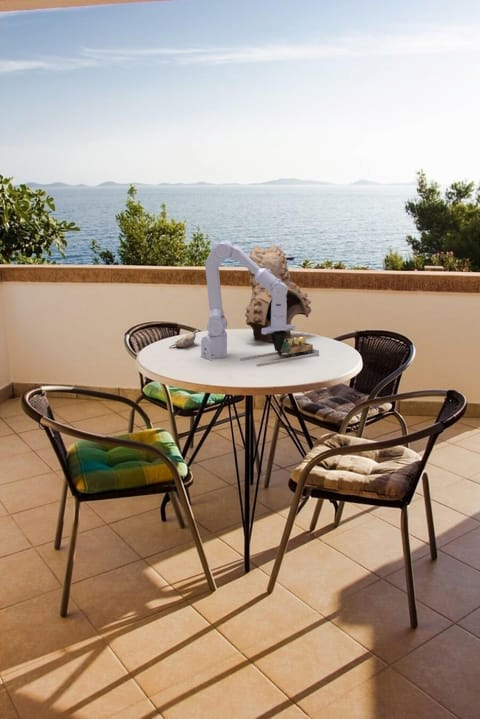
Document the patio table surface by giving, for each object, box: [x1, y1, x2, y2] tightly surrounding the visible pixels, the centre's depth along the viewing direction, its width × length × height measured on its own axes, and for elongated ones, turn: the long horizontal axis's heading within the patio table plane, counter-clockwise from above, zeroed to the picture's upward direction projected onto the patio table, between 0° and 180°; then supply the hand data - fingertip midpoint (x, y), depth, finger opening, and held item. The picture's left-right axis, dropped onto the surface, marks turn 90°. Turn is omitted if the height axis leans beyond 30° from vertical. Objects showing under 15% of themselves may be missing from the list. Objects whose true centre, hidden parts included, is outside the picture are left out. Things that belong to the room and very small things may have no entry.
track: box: [239, 348, 320, 367], centre depth 251 cm, size 29×12×3 cm, turn 126°
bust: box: [244, 244, 312, 344], centre depth 281 cm, size 34×18×40 cm, turn 130°
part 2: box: [291, 336, 299, 348], centre depth 254 cm, size 3×3×4 cm
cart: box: [276, 342, 314, 358], centre depth 254 cm, size 12×9×6 cm
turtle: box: [169, 329, 199, 348], centre depth 272 cm, size 16×10×10 cm, turn 4°
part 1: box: [284, 337, 292, 348], centre depth 252 cm, size 3×3×4 cm
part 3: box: [297, 335, 307, 347], centre depth 256 cm, size 3×3×4 cm
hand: (277, 350), depth 250 cm, fingers closed
